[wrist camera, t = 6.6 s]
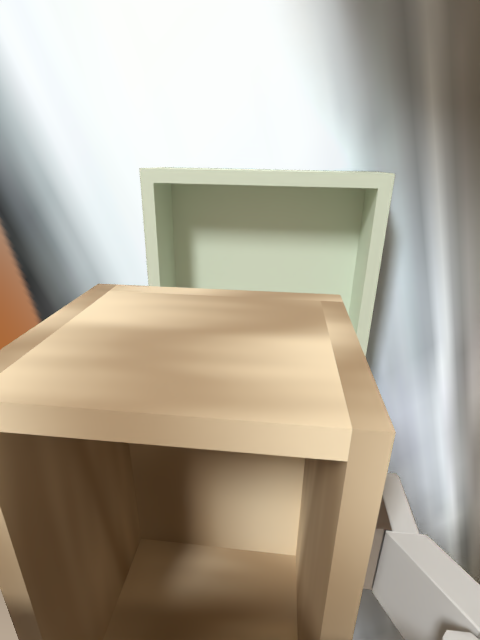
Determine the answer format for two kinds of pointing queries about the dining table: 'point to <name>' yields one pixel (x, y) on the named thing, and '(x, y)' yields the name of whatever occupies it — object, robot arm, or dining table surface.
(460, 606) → the robot arm
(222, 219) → the sage crate
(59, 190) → the dining table surface
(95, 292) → the pine crate
